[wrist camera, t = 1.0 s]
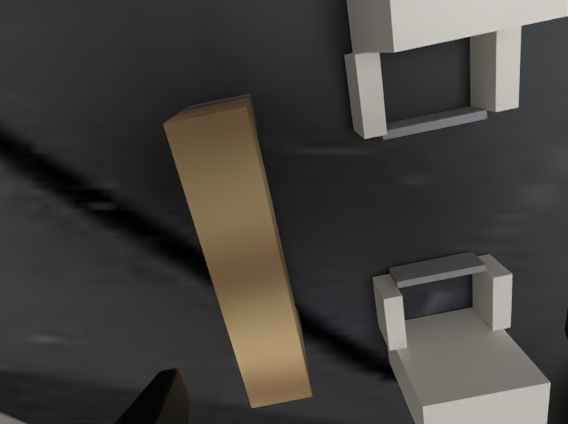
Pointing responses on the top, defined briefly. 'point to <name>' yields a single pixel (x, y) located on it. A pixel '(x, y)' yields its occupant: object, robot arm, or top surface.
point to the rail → (241, 244)
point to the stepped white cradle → (485, 269)
